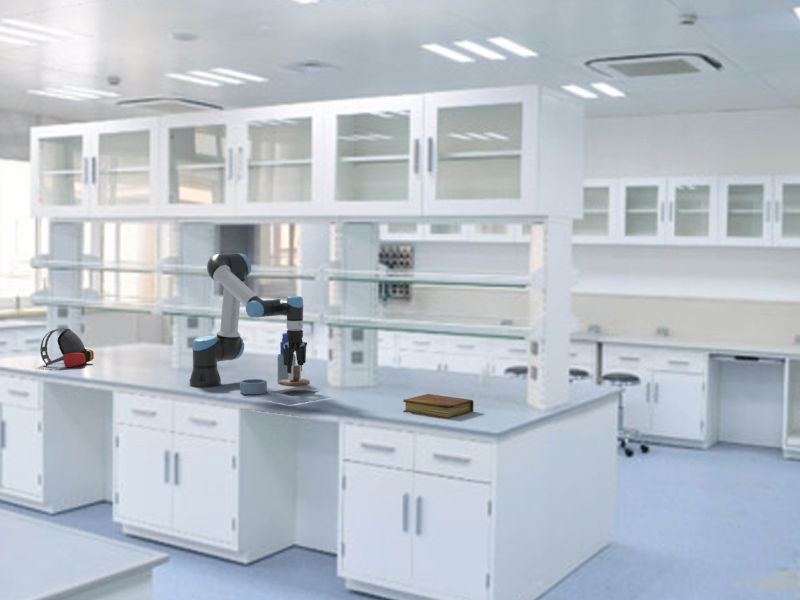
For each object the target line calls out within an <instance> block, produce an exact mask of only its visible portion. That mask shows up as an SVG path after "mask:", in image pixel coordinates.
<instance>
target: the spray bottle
mask: <svg viewBox="0 0 800 600" xmlns="http://www.w3.org/2000/svg"><path fill="white" fill-rule="evenodd" d="M287 340H288V338H287V332H284V333H282V338H281V342H280V345H279V347H280V352H279V354H277V385H280V384H279V381H280V380H283V379H288V372H287V366H286V365H284V358H283V347H282V344H286V343H287ZM294 365H297V358H296V353H294V356H293V362H292V366H294Z"/></svg>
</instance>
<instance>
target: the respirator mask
mask: <svg viewBox="0 0 800 600" xmlns="http://www.w3.org/2000/svg"><path fill="white" fill-rule="evenodd" d="M55 332H61V333H60V334H59V335H58V336H57V339H56V341H57V344H58V345H57V346H58V348H59V350H60V351H59V352H60V353H61V354H62V356H60V357H58V358H55V359H53V360H51V358H50V356H49V354H48V342H49V340H50V337H51V336H52V335H53V333H55ZM45 338H46V339H45ZM44 341H45V342H44ZM43 345H44V346H43ZM39 348H40V350H39V351H40V356H41V359H42V361H43V362H44V364H45V366H46V367H47V366H50V365H54V364H56V363H58V362H59V363H60V362H61V361H63V364H64V365H63V366H64V367H65V368H66V367H69V368H73V367H74V368H75V367H78V366H86V364H87V363H89V362H91V361H93V360H94V358H95V354H94V350H92V349H88V348H85V345H84V342H83V341H82V339H81V338H80V337H79V336H78V335H77V334H76V333H75V332H74V331H72V329H70V328H63V329H62V328H56V329H52V330H51V331H49V332H47V333H45V335H44V336H43V338H42V340H41V343H40V347H39ZM46 360H47V361H46Z"/></svg>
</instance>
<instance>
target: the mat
mask: <svg viewBox="0 0 800 600" xmlns="http://www.w3.org/2000/svg"><path fill="white" fill-rule="evenodd" d="M319 392H320V391H318V390H313V389H308V388H307V389H306V388H302V387H291V388H290V387H289V388H285V389H278V390H272V391H271V393H275V394H280V395H286V396H291V397H295V396H296V397H297V396H301V395H308V394H309V395H310V394H314V393H319Z"/></svg>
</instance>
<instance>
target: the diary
mask: <svg viewBox="0 0 800 600" xmlns="http://www.w3.org/2000/svg"><path fill="white" fill-rule="evenodd" d="M402 402H403V403H405V410H403V411H402V412H403V413H408V412H410V414H415V413H416V415H421V414H423V416H429V417H434V416H435V418H441V417H442V419H447V418H448V420H449V419H453V418H456V417H459V416H460V417H461V416H463V415H467V414H469V413H473V412H474V402H475V401H474V400H473V399H467V398H460V397H454V396H446V395H439V394H434V393H433V394H432V393H427V394H423V395H418V396H413V397H409V398H405V399H403V401H402ZM452 417H453V418H452Z"/></svg>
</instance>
